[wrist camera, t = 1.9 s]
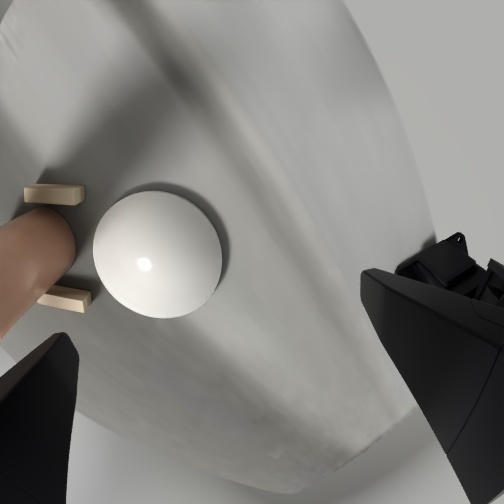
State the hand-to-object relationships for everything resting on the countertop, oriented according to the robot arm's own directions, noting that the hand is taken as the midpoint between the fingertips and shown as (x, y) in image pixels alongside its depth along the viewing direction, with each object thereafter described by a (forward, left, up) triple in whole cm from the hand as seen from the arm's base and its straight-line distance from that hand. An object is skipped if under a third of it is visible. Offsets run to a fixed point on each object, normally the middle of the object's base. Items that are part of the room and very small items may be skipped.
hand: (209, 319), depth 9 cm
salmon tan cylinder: (+5, +13, -12) cm, 19 cm away
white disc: (0, +6, -12) cm, 14 cm away
